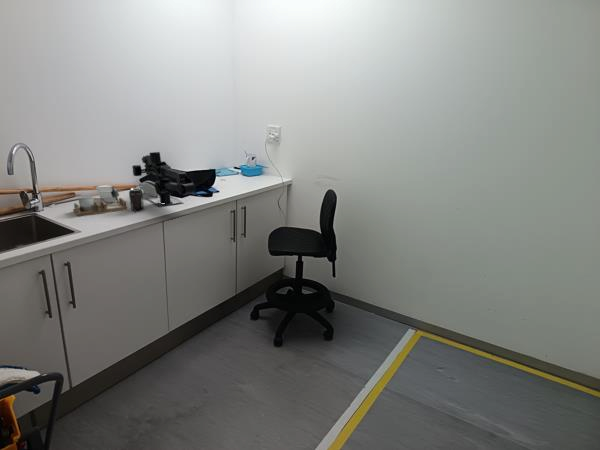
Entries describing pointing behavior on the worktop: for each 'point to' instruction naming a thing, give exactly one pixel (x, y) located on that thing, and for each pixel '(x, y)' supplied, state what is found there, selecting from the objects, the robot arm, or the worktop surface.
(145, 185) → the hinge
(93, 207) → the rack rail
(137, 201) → the beverage can
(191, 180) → the robot arm
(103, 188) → the shelf bracket
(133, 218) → the worktop surface
